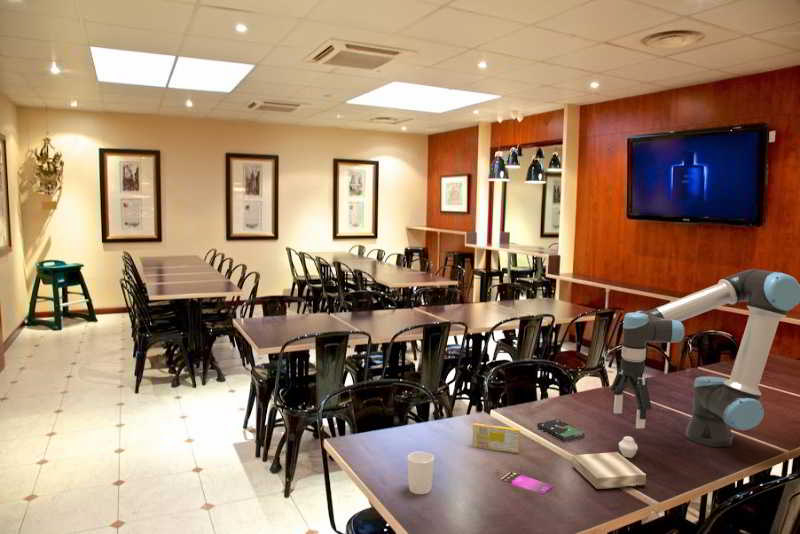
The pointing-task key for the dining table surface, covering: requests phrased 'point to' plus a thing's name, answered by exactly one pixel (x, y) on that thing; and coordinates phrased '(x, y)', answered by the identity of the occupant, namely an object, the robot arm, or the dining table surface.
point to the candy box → (496, 438)
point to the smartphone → (526, 482)
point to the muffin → (628, 447)
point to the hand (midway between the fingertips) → (628, 420)
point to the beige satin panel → (608, 470)
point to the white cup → (420, 472)
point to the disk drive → (561, 430)
